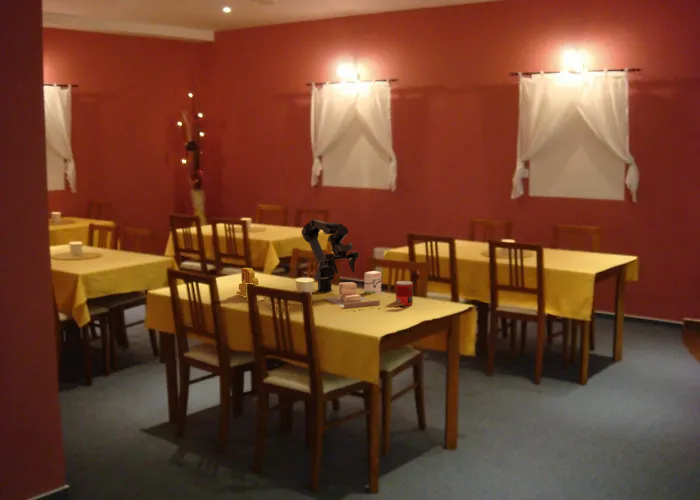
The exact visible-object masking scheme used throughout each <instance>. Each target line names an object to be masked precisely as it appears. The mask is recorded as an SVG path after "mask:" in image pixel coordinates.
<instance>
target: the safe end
mask: <svg viewBox="0 0 700 500" xmlns="http://www.w3.org/2000/svg"><path fill="white" fill-rule="evenodd" d="M380 301H381V300H380V299H377V300H370V301H368V300H364V301H362V302H354V303H344V305H338V306H339V307H341V308H343V309H351V308H361V307H362V308H364V307H370V306H379V305H380V304H381V302H380ZM371 309H374V308H373V307H372V308H370V310H371ZM362 310H364V309H360V311H362ZM351 311H353V312H354V309H353V310H350V312H351Z"/></svg>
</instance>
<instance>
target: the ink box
mask: <svg viewBox="0 0 700 500" xmlns="http://www.w3.org/2000/svg"><path fill="white" fill-rule="evenodd" d="M363 277H364V294H370V295H373V294H378V295H381V294H382V271H377V270H372V271H367V272H364V276H363Z"/></svg>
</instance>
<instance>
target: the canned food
mask: <svg viewBox="0 0 700 500" xmlns="http://www.w3.org/2000/svg"><path fill="white" fill-rule="evenodd" d="M413 288H414V285H413V281H411V280H410V281H409V280H400V281H399V280H398V281H396V282H395V303H396V304H400V307H403V306H407V307H412V305H413V303H414V302H413V295H414V292H413V291H414V290H413ZM401 304H402V305H401Z"/></svg>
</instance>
